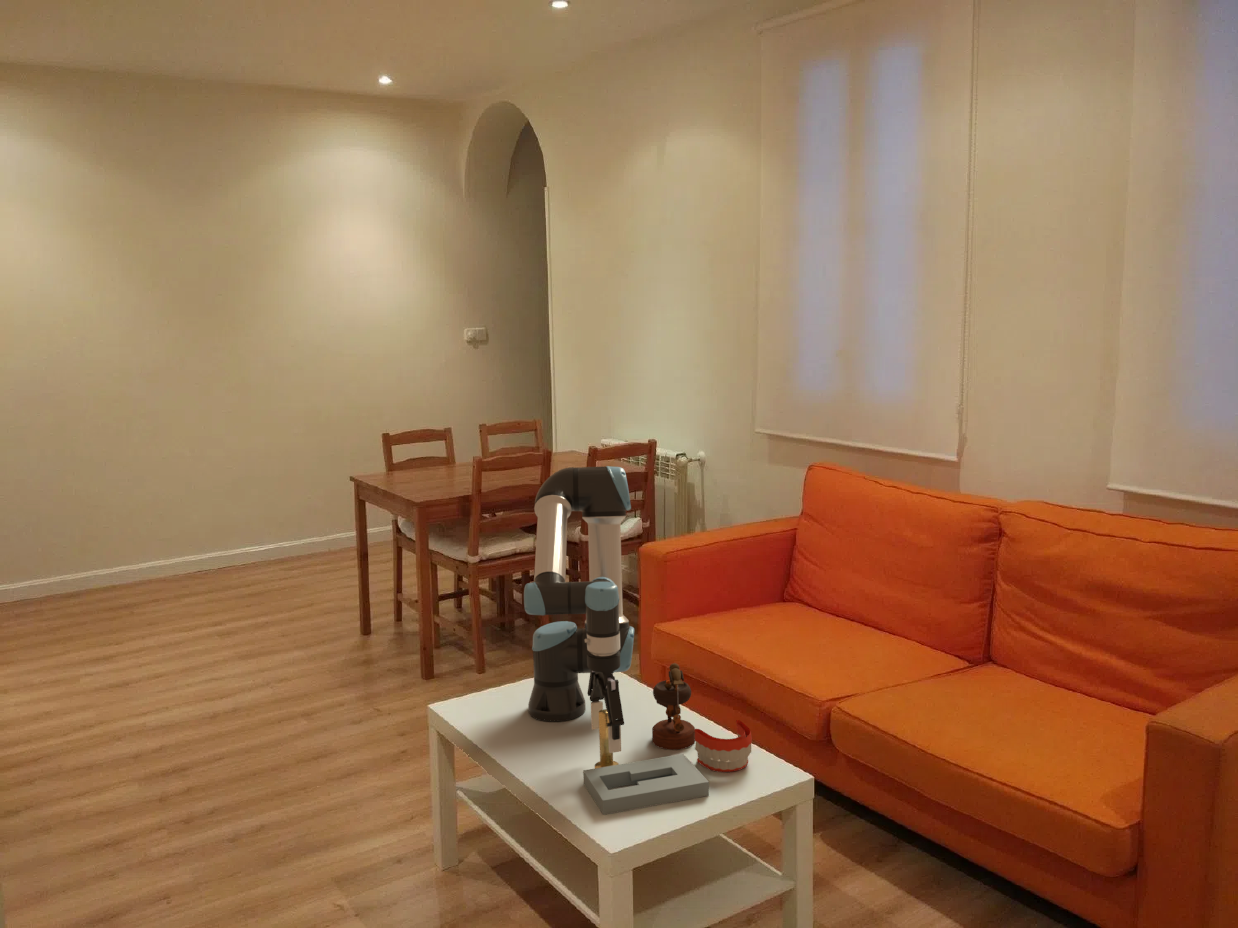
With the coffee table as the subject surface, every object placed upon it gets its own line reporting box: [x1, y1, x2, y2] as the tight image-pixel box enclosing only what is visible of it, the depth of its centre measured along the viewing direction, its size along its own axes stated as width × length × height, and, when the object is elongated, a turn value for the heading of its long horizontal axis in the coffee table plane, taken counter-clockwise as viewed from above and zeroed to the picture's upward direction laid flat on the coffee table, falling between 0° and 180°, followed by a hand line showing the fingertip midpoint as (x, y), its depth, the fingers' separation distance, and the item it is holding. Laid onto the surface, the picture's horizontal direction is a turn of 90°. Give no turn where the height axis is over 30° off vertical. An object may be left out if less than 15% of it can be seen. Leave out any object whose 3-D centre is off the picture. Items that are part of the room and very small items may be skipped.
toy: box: [694, 719, 753, 773], centre depth 234 cm, size 12×10×8 cm
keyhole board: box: [582, 753, 710, 815], centre depth 223 cm, size 15×24×3 cm, turn 108°
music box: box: [651, 662, 696, 751], centre depth 247 cm, size 15×11×20 cm
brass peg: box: [594, 708, 620, 769], centre depth 233 cm, size 6×6×14 cm
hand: (606, 739), depth 233 cm, fingers open, 13 cm apart
